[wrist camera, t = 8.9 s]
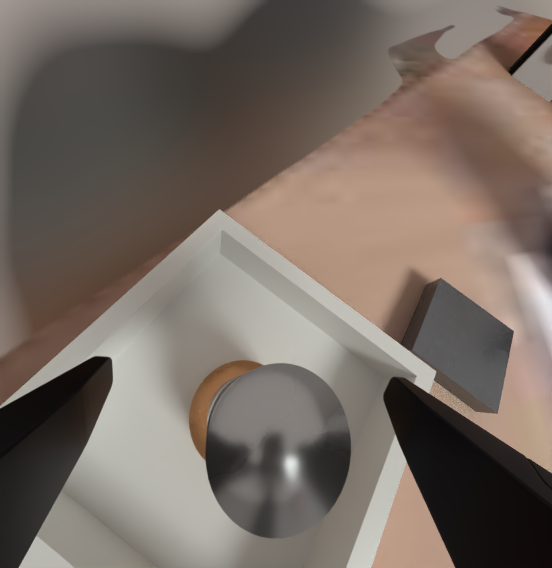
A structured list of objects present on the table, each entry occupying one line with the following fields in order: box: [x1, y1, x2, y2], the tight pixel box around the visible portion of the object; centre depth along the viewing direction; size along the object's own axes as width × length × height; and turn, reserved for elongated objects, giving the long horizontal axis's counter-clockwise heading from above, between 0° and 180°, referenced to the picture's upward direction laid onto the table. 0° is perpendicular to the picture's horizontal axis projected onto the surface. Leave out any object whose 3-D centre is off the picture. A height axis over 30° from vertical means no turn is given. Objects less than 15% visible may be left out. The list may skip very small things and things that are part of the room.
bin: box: [0, 209, 436, 568], centre depth 13 cm, size 16×16×4 cm
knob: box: [189, 360, 351, 539], centre depth 10 cm, size 5×5×10 cm
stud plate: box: [401, 278, 514, 414], centre depth 20 cm, size 7×7×2 cm
